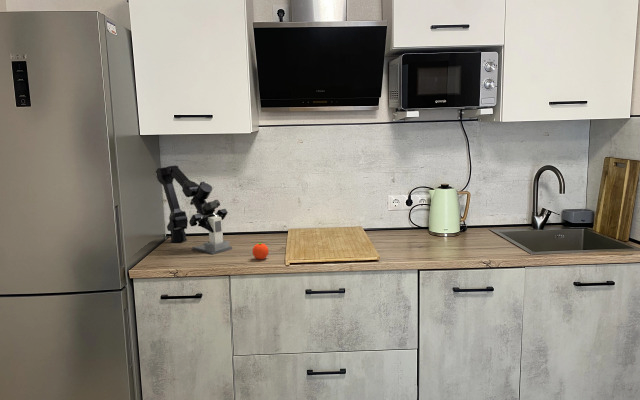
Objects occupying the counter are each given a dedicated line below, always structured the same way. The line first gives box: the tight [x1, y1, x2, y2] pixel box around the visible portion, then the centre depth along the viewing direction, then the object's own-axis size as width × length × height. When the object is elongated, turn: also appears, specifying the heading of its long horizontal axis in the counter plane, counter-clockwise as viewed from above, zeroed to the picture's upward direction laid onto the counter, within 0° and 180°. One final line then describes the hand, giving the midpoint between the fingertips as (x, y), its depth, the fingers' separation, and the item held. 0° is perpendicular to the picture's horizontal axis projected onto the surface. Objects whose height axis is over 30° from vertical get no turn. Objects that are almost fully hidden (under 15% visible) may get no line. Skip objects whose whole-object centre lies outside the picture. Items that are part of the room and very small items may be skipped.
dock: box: [192, 239, 233, 255], centre depth 232 cm, size 16×11×4 cm
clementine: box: [252, 242, 269, 260], centre depth 212 cm, size 8×7×7 cm
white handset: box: [208, 216, 224, 244], centre depth 229 cm, size 5×4×13 cm
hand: (217, 231), depth 228 cm, fingers closed on white handset, 4 cm apart
